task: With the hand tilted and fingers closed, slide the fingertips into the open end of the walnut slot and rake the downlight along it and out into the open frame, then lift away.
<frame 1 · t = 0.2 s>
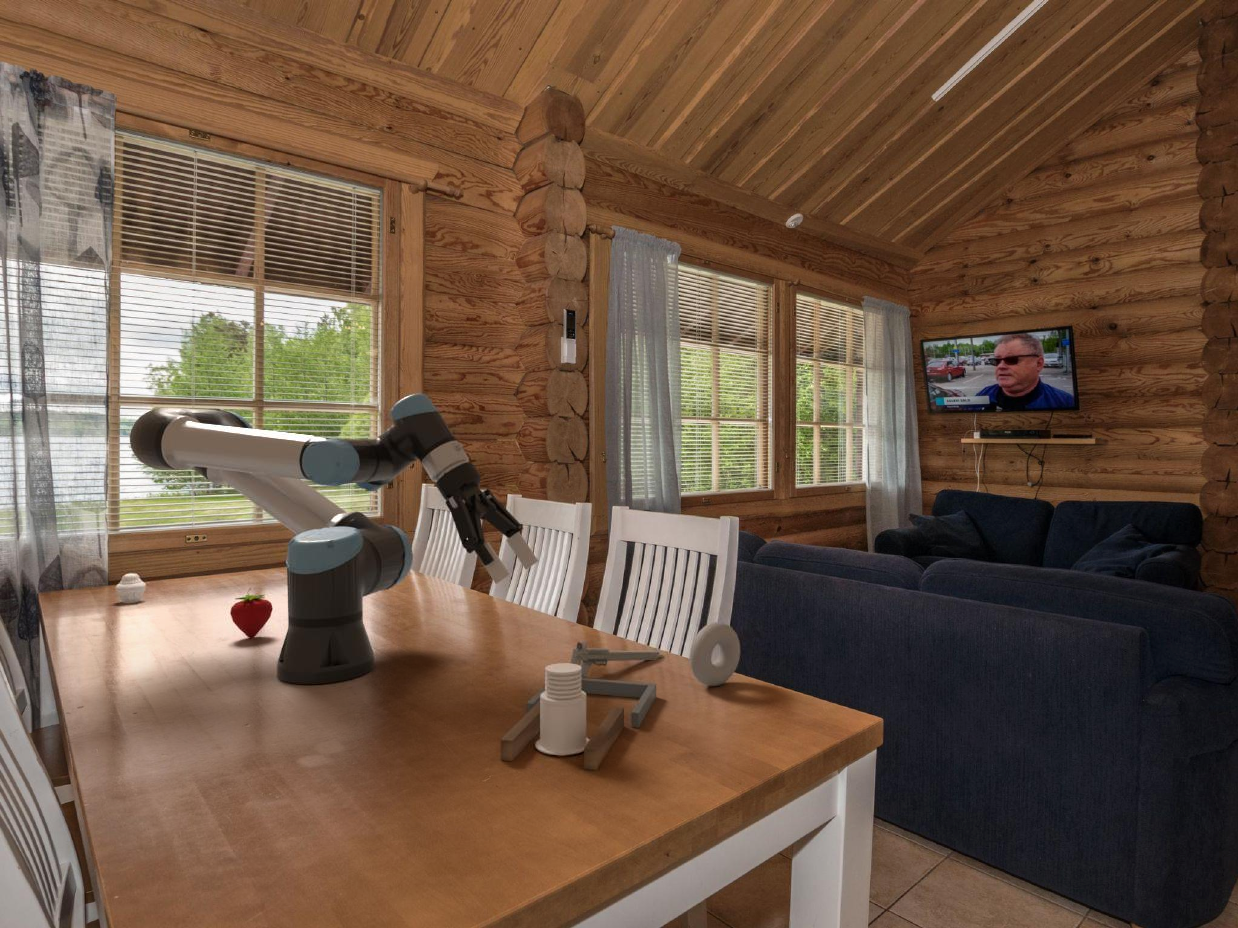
hand: (518, 572, 132), 16 cm above the table, tool tilted 35°, fingers open, 13 cm apart
open frame: (593, 707, 110), on the table
caliper: (619, 670, 128), on the table
slot: (565, 742, 97), on the table
donut: (715, 686, 119), on the table
downlight: (563, 746, 96), on the table
strawberry: (252, 638, 148), on the table
muffin: (131, 602, 180), on the table
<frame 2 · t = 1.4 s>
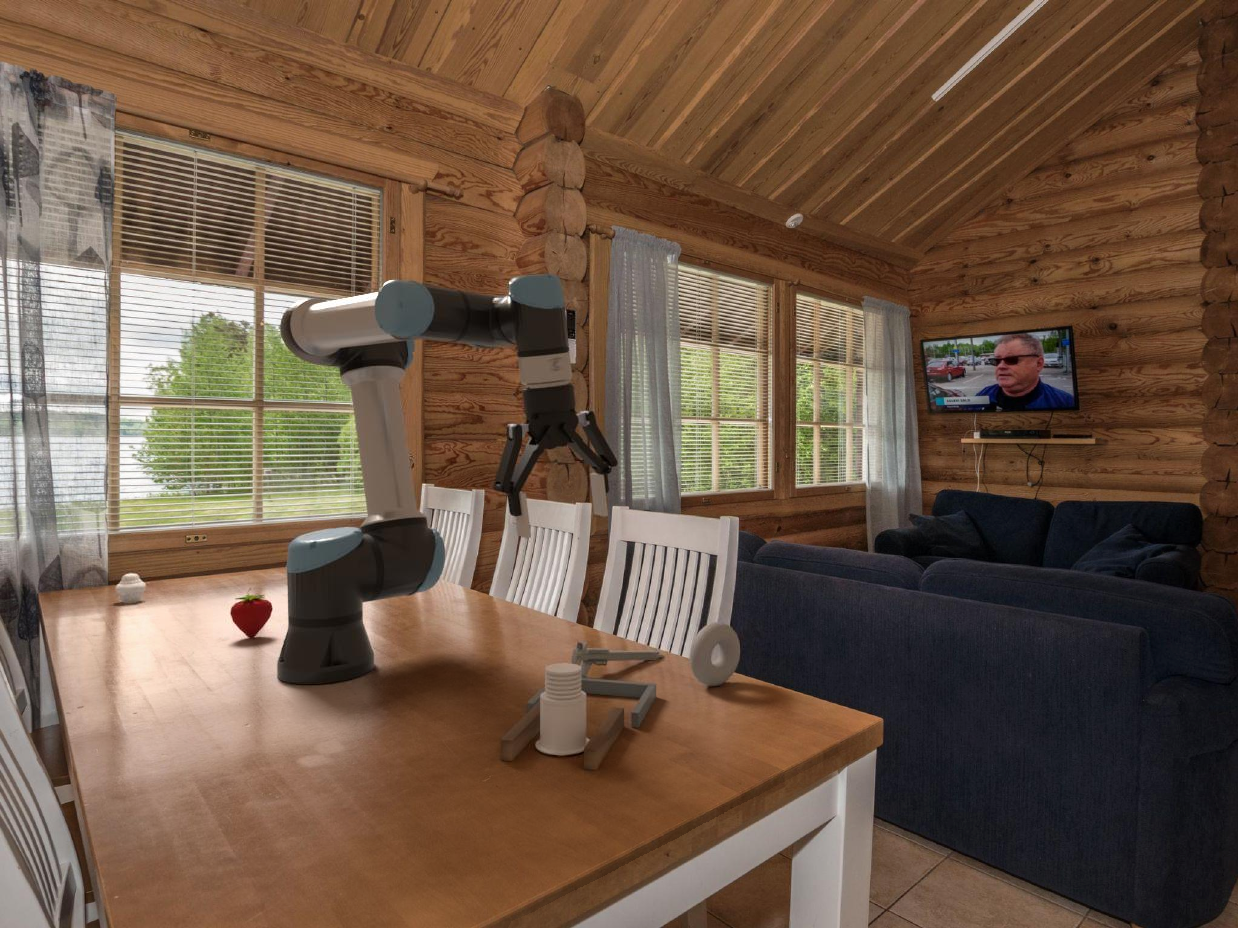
hand: (564, 525, 114), 26 cm above the table, tool pointing down, fingers open, 13 cm apart
nothing on the table moved.
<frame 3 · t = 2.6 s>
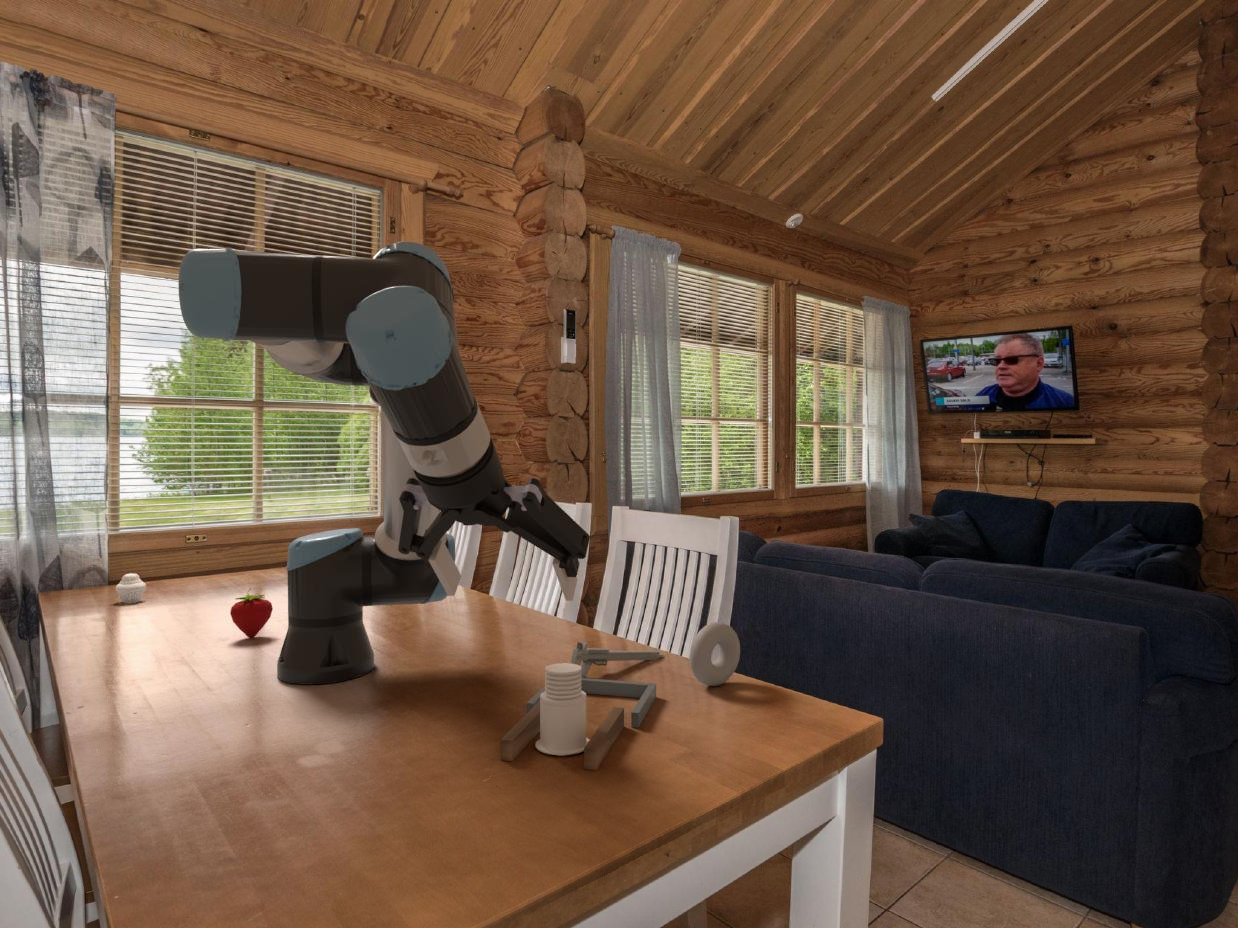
hand: (512, 588, 83), 22 cm above the table, tool tilted 45°, fingers open, 13 cm apart
nothing on the table moved.
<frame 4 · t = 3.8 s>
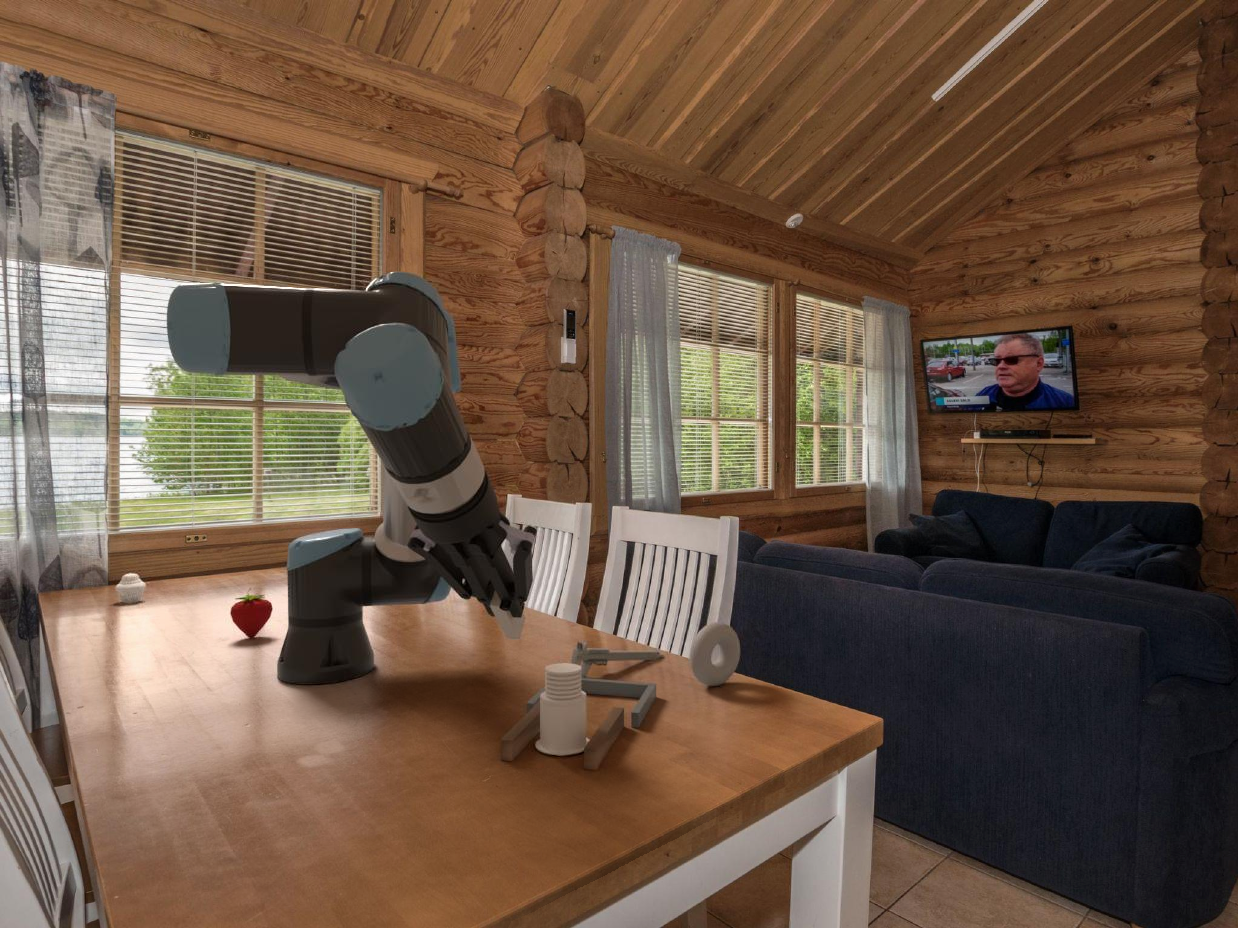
hand: (516, 628, 84), 18 cm above the table, tool tilted 45°, fingers closed
nothing on the table moved.
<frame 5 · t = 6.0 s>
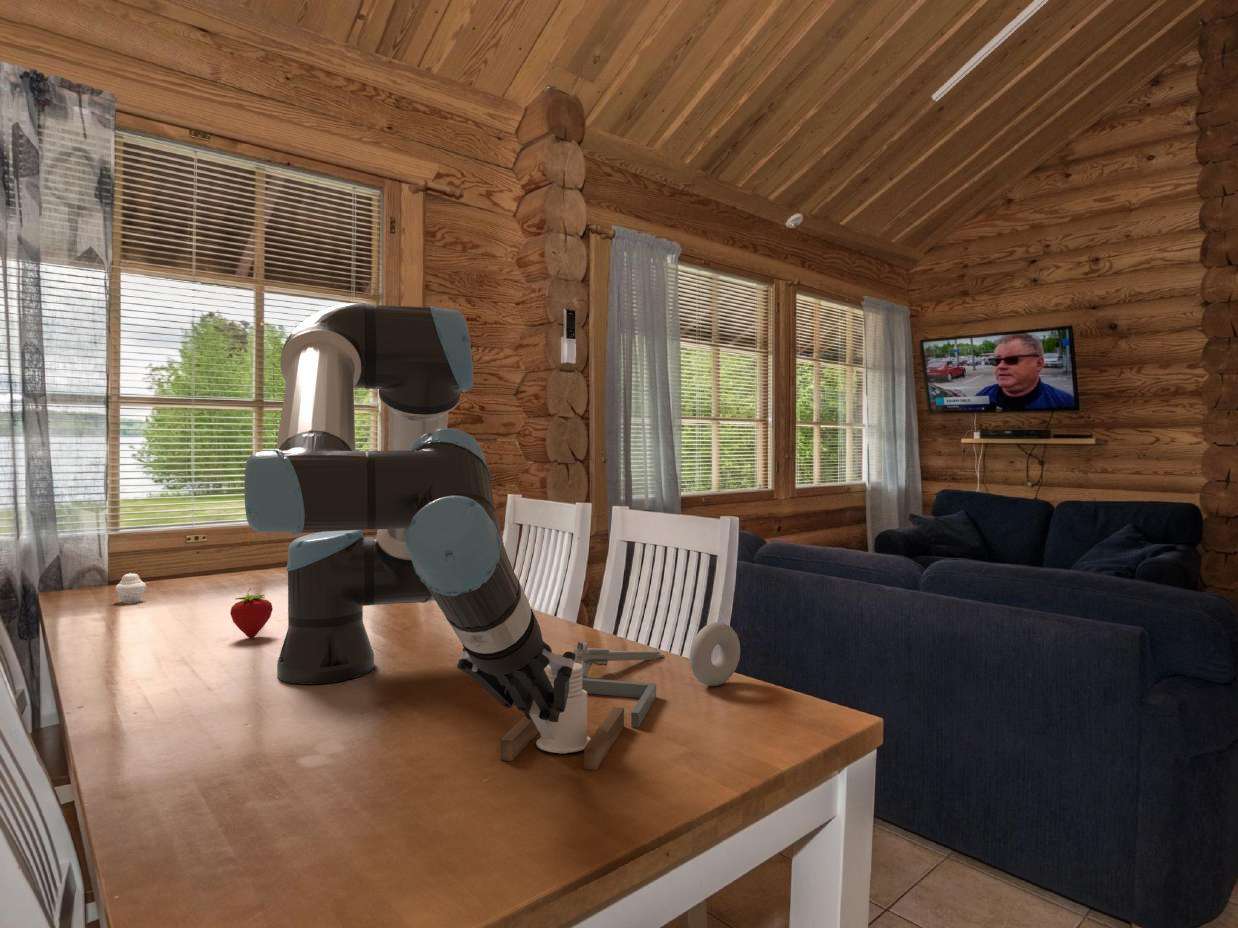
hand: (551, 727, 91), 4 cm above the table, tool tilted 45°, fingers closed
downlight: (564, 745, 96), on the table, touching gripper
everything else where it was.
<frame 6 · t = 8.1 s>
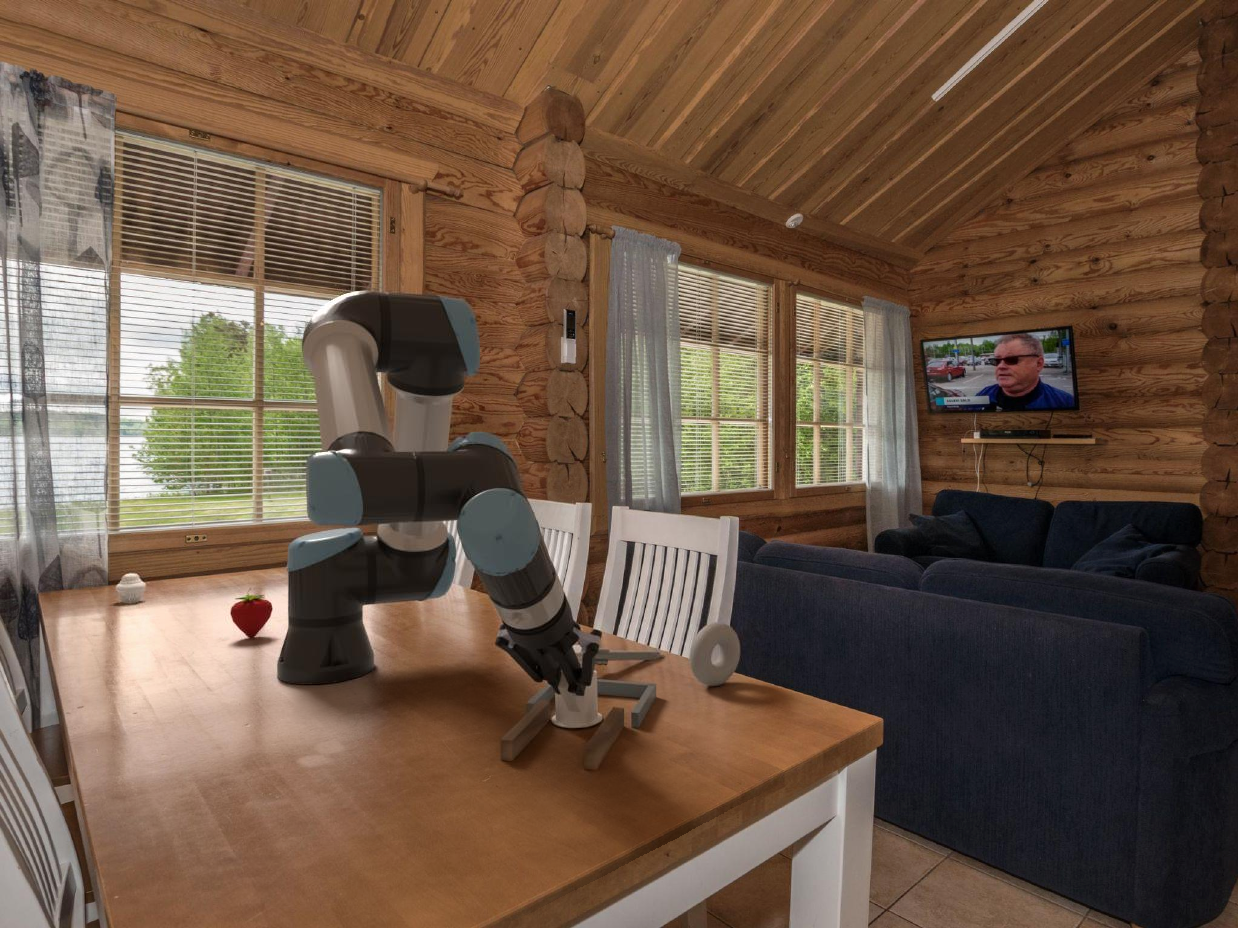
hand: (577, 702, 100), 4 cm above the table, tool tilted 45°, fingers closed
downlight: (576, 721, 105), on the table, touching gripper
everything else where it was.
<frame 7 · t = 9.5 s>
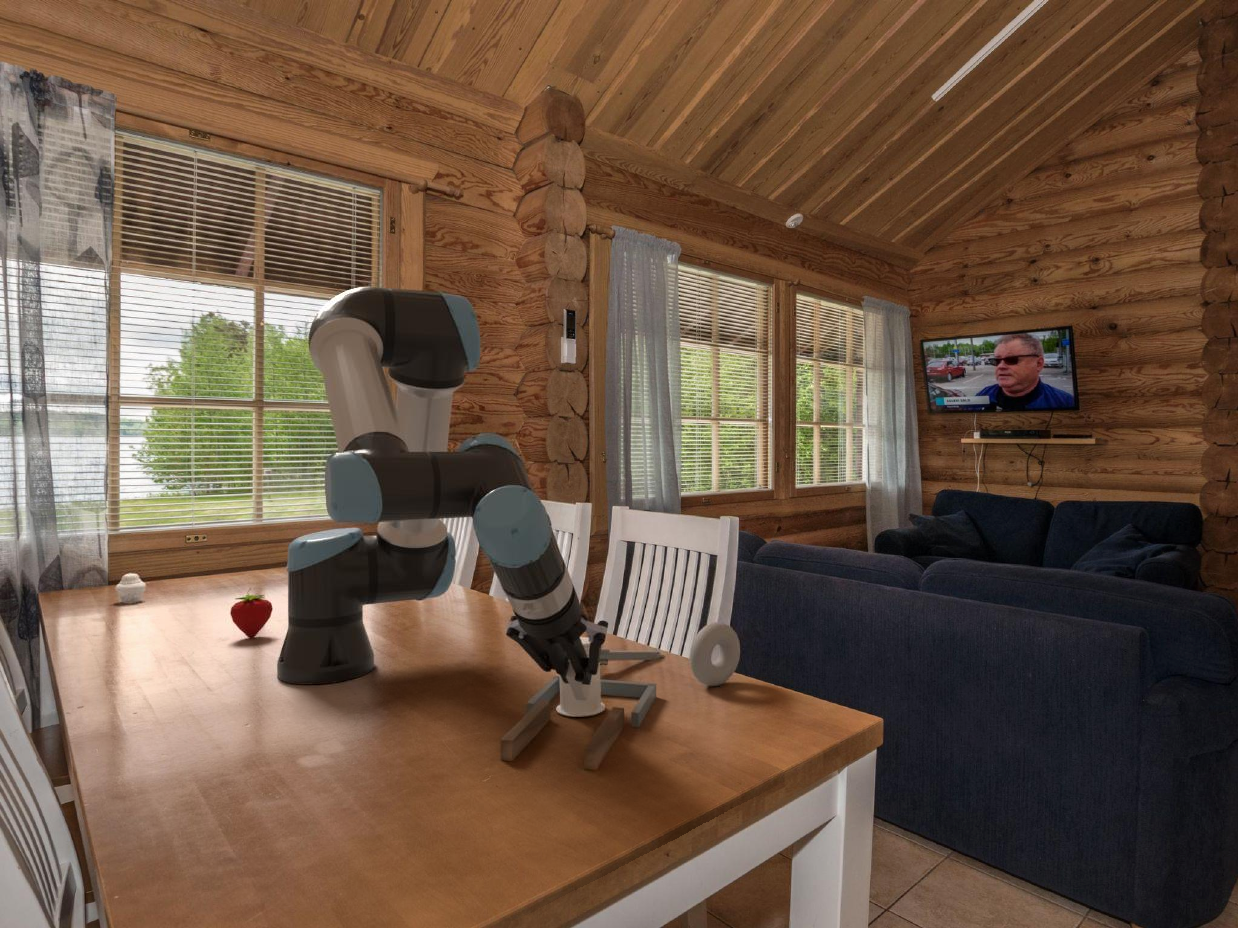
hand: (583, 691, 104), 4 cm above the table, tool tilted 45°, fingers closed
downlight: (580, 710, 109), on the table, touching gripper
everything else where it was.
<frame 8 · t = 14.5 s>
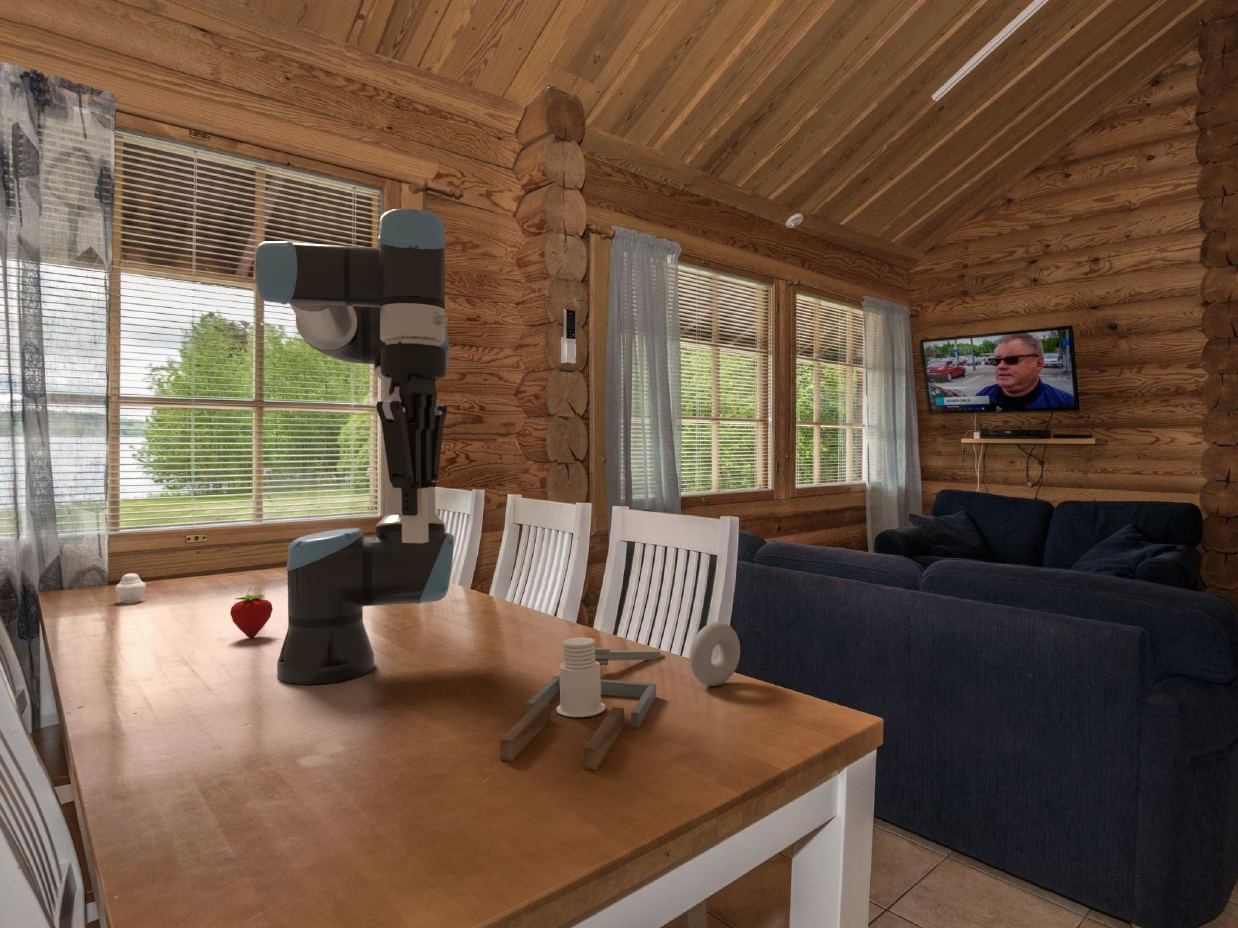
hand: (415, 541, 91), 26 cm above the table, tool pointing down, fingers closed
downlight: (580, 711, 109), on the table
everything else where it was.
at the end: downlight inside the target area (1.9 cm from its centre), on the table; downlight tilted 2° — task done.
